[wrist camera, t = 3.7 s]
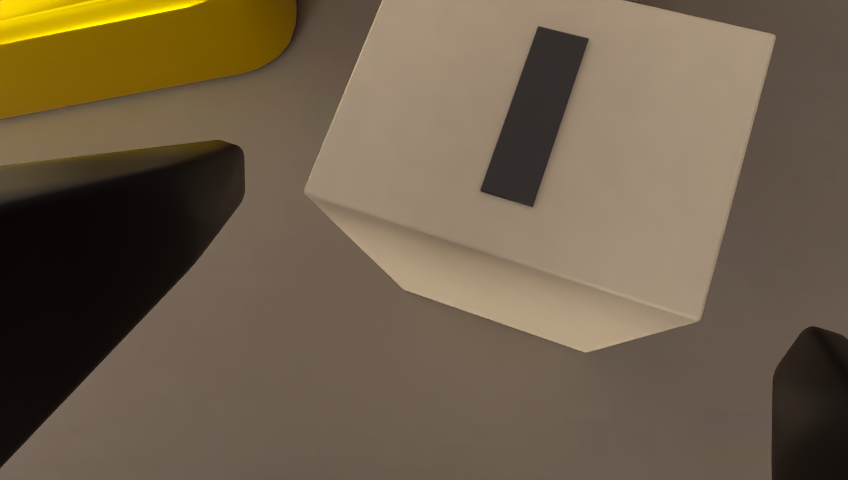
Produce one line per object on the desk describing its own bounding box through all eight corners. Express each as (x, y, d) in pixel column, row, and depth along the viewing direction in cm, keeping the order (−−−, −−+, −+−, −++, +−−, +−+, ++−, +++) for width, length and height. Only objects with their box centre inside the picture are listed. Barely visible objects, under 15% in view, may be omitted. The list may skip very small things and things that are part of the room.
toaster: (587, 353, 17) (704, 322, 8) (402, 289, 18) (299, 191, 9) (638, 181, 18) (799, -39, 9) (460, 131, 20) (425, -115, 10)
